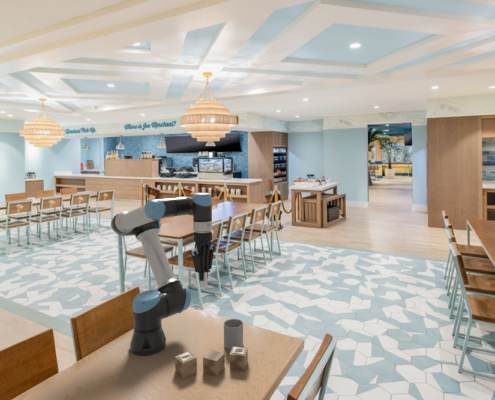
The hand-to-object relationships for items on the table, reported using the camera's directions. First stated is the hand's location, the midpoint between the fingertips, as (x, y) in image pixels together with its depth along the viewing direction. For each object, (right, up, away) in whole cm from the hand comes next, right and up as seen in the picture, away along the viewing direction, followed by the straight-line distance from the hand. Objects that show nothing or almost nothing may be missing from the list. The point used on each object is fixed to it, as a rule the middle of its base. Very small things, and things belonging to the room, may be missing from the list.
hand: (203, 287), depth 142 cm
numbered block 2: (+15, -29, -6) cm, 33 cm away
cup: (+12, -28, +9) cm, 32 cm away
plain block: (+5, -30, -9) cm, 31 cm away
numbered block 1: (-5, -30, -10) cm, 32 cm away
